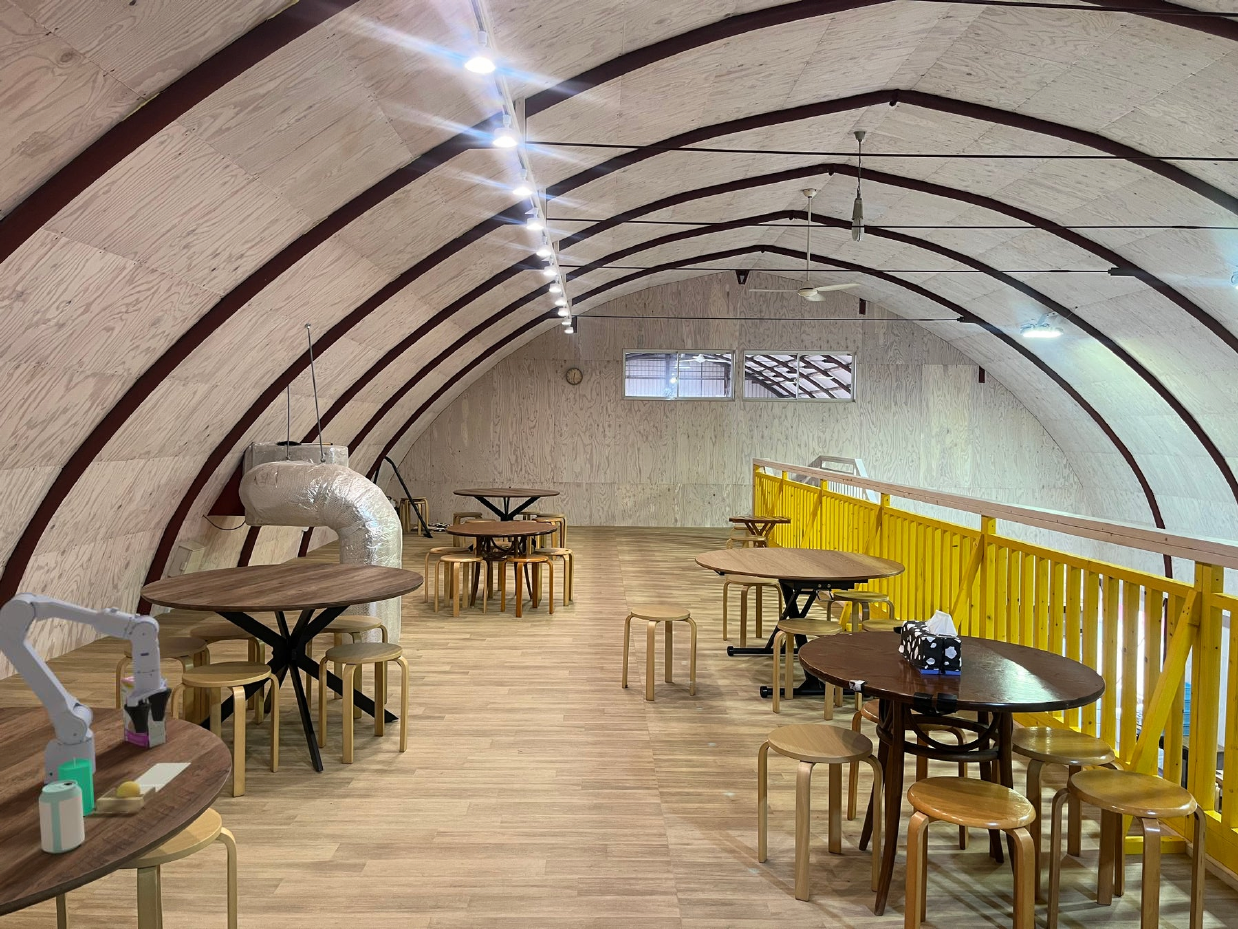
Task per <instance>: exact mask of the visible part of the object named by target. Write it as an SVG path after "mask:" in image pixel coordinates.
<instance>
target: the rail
mask: <svg viewBox="0 0 1238 929" xmlns="http://www.w3.org/2000/svg"><path fill="white" fill-rule="evenodd" d="M116 794H117V789H116V787H112V788H110V789H109V790H108V791H106V792H105V793H104V794H102V795H101V796H100V797H99V798H97V799H96V802H95V803H96V804H95V805H96V812H97V811H122V810H132V811H131V812H142V811H143V810H144V809H145V808H144V807H143V806H145V805H146V804H147V803H148V802H149V801H150V800H152V799H153V798H154V797H156V796H157V792H156V788H155V787H152V788H151V789H150V790H149V791H147V792H146V793H145V794H141V795H140V796H139V797H121V798H117V796H116ZM143 808H144V809H143ZM142 809H143V810H142ZM141 810H142V811H141Z"/></svg>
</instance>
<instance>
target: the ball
mask: <svg viewBox="0 0 1238 929" xmlns="http://www.w3.org/2000/svg"><path fill="white" fill-rule="evenodd" d="M140 796H141V794H140V787H139V785H138V784H137V783H135V782H134V781H131V780H130V781H126V782H123V783H121V784H120V785H119V787H118V788H117V789H116V796H115V797H116V798H121V797H140Z"/></svg>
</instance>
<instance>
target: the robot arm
mask: <svg viewBox="0 0 1238 929" xmlns="http://www.w3.org/2000/svg"><path fill="white" fill-rule="evenodd" d="M51 618H52V619H53V618H54V619H55V618H56V619H60V620H66V621H70V622H74V623H79V624H83V625H89V626H92V627H93V628H94V630H95V632H96V633H99V634H103V635H105V636H111V637H115V638H119V639H123V640H130V642H131V644H132V651H131V657H132V658H131V659H132V673H133V675H132V676H133V679H134V690H133V691H132V693H131V695H130V696H129V697H128V698H127V703H126V704H124V709H125V710H126V712H127V713H128V714H129V716H130V718H131V720H132V722H133V725H134V727H135V730H136V733H146V732H147V728H148V715H149V711H150V708H151V713H152V718H153V721H163V719H164V715H165V716H166V709H167V704H168V701H169V698H170V697H171V695H172V693H173V688H168V686H169V683H168V681H169V680H168V678H162V672H161V655H160V654H161V652H160V647H159V644H160V642H159V638H158V636H159V633H160V632H159V631H160V625H159V623H158V621H157V620H156V619H155V618H154V617H152V616H150V615H148V614H147V615H145V614H144V615H141V614H140V613H135V614H132V613H129V612H128V613H127V612H124V611H120V610H119V607H116V606H112V607H111V608H108V607H105V608H102V609H101V610H98V611H97V610H94V609H92V608H88V607H85V606H81V605H78V604H74V603H71V602H68V601H64V600H61V599H59V598H55V597H51V596H47V595H46V594H45V595H44V594H35V593H32V592H30V591H29V592H27V591H25V592H20V593H17V594H15V595H14V596H13V597H12V598H11V599H10V600H9V601H8V602H6V603H5V604H4V605H3V606H2V608H1V609H0V651H1V652H2V653H3V655H4V656H5V657H6V659H7V660H8V661H9V663H10V665H12V666H13V667H14V669H15V670H16V672H17V673H18V675H19V676H20V677H21V678H22V679H23V681H24V682H25V683H26V684H27V686H28V687H29V689H31V691H32V692H33V693H34V695H35V696H36V697H37V699H38V700H39V701H40V702H41V703H42V705H43V706H44V708H45V709H46V710H47V713H48V717H49V720H50V723H52V725H53V727H54V732H55V736H56V738H54V739H52V740H50V741H49V742H48V744H47V745H46V747H45V750H44V771H45V780H44V781H43V784H44V785H48V784H51V783H54V782H57V781H59V776H58V767H59V766H60V765H62V764H64V763H66V762H68V761H72V760H74V757H75V760H76V759H82V758H84V759H87V760H90V761H91V762H92V775H94V774H95V772H97V768H96V753H95V752H96V751H95V736H94V735H95V734H94V733H93V732H94V731H92V730H91V729H90V725H91V724H92V722H93V721H94V719H93V718H94V713H93V711H92V709H91V708H90V707H88V706H87V705H85V704H83V703H81V702H80V701H79V700H78V699H77V697H75V696H74V695H71V694H70V693H69V692H68V691H67V690H66V689H65V686H63V684H62V683H61V682H60V681H59V679H58V678H57V677H56V675H55V674H54V673H53V671H52V670H51V668H50V667H49V666H48V664H46V662H45V661H44V660H43V659H42V658H41V656H40V655H39V654H38V652H37V651H36V650H35V648H34V647H33V646H32V644H31V642H29V640H28V635H29V633H30V629H31V625H32V623H34V620H35V619H36V620H35V621H36V623H38V622H42V621H45V620H49V619H51ZM146 698H148V701H149V703H145V702H143V700H144V699H146Z"/></svg>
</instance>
